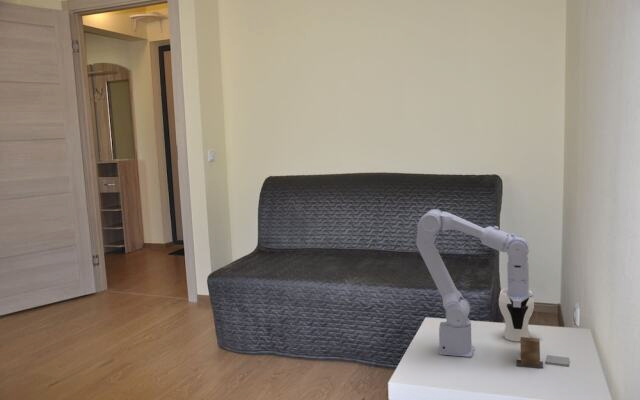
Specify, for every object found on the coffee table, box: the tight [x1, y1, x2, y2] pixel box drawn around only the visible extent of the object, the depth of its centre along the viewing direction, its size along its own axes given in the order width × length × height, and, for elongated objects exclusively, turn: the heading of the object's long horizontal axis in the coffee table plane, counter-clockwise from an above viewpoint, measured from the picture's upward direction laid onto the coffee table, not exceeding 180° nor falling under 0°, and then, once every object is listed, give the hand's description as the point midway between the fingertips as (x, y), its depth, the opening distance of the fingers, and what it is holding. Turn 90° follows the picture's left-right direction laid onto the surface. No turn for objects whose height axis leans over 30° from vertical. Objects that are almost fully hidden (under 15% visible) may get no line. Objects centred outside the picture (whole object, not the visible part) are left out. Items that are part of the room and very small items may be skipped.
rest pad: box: [515, 358, 544, 369], centre depth 154 cm, size 7×4×1 cm, turn 69°
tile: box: [544, 354, 570, 368], centre depth 155 cm, size 1×5×6 cm
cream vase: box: [498, 287, 535, 342], centre depth 174 cm, size 11×11×15 cm
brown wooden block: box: [519, 337, 541, 366], centre depth 154 cm, size 5×2×7 cm, turn 69°
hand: (518, 324), depth 159 cm, fingers open, 7 cm apart
